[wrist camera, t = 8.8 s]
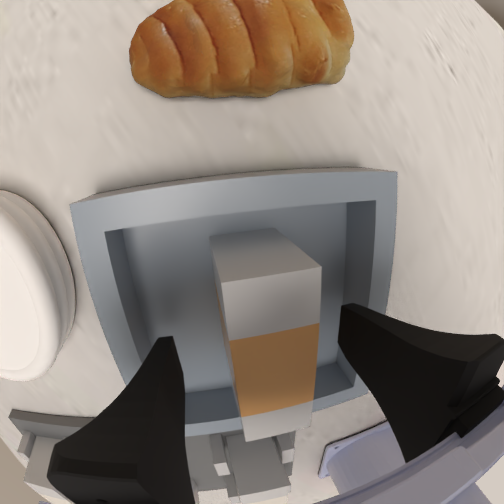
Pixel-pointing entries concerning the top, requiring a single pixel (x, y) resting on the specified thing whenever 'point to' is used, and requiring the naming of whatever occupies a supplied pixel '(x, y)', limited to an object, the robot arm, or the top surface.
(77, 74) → the top surface
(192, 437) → the panel
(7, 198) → the white round tin
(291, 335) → the orange fuse
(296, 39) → the pastry
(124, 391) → the robot arm
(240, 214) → the tray
